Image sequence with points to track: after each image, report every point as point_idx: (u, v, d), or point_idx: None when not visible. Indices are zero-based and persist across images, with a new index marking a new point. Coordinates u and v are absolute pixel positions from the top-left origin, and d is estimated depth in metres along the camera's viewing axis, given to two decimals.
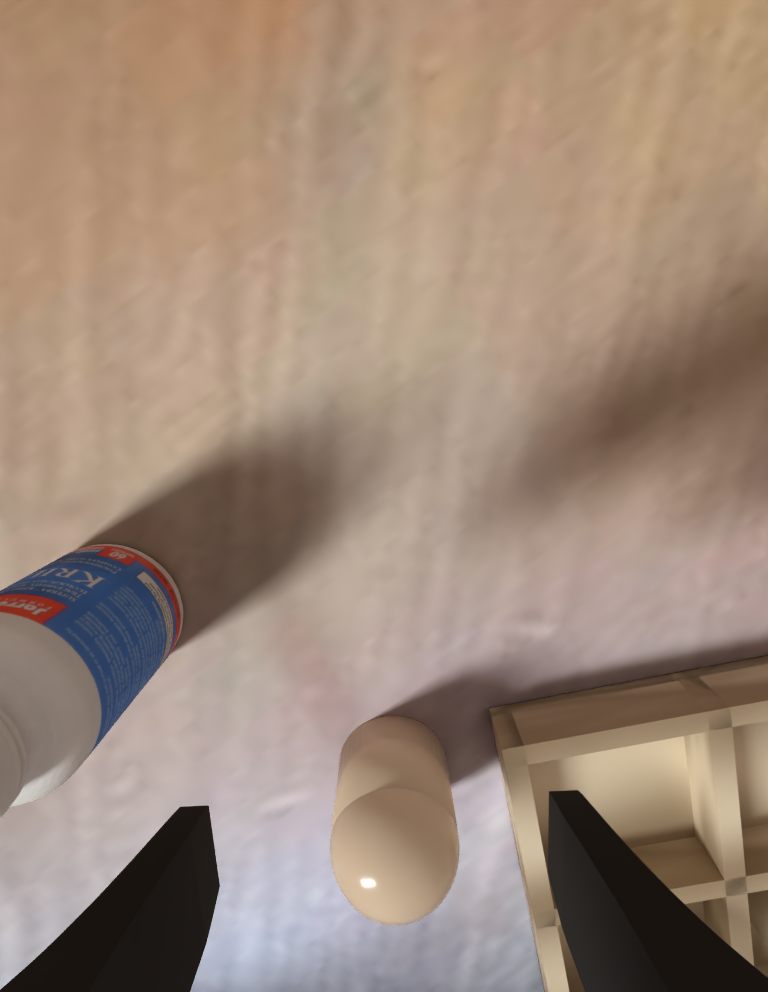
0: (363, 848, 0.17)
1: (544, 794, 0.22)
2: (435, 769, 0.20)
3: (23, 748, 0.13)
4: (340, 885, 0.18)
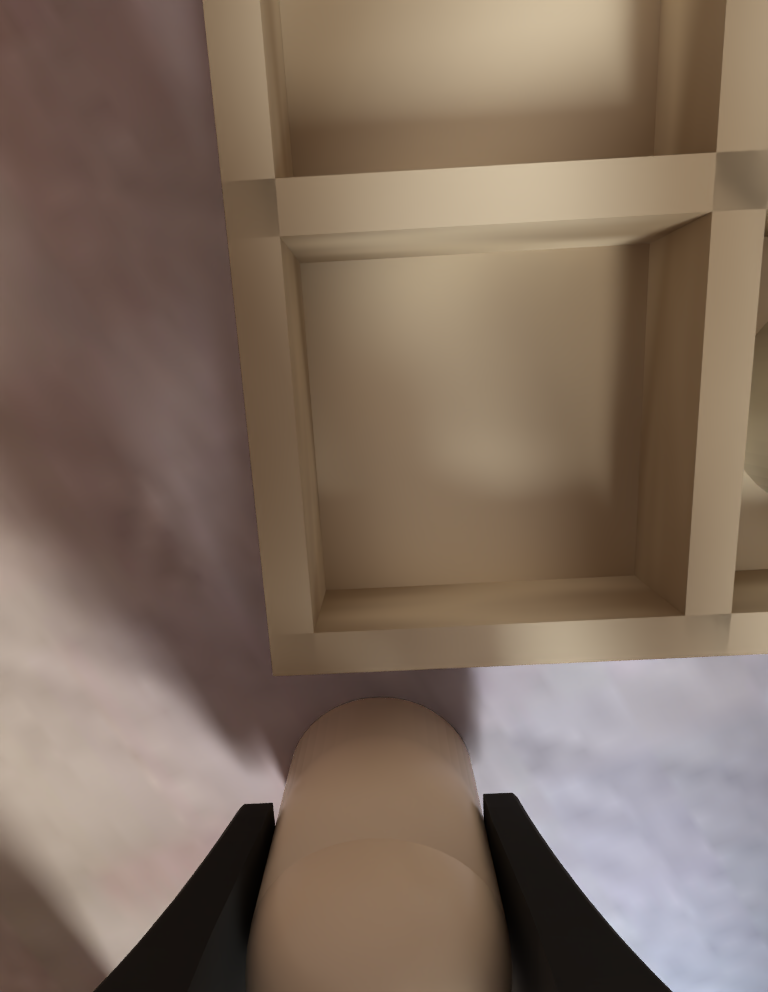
0: None
1: (475, 551, 0.11)
2: (312, 785, 0.11)
3: None
4: None
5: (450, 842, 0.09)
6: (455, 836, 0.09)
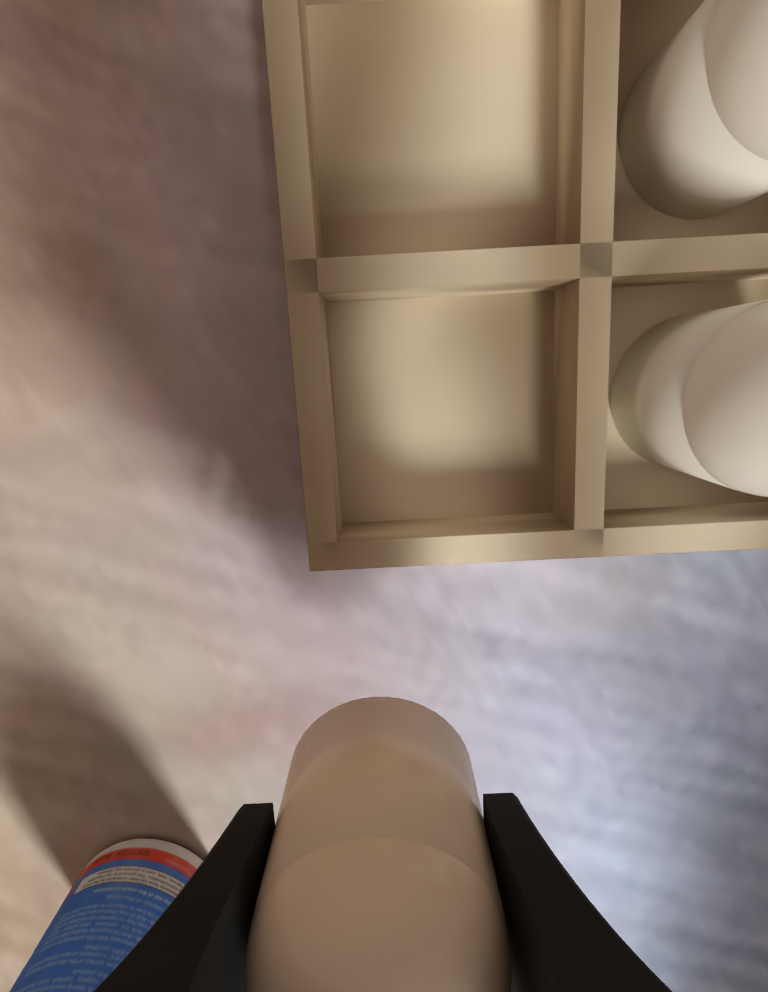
0: None
1: (443, 496, 0.17)
2: (312, 784, 0.11)
3: None
4: None
5: (450, 841, 0.09)
6: (455, 835, 0.09)
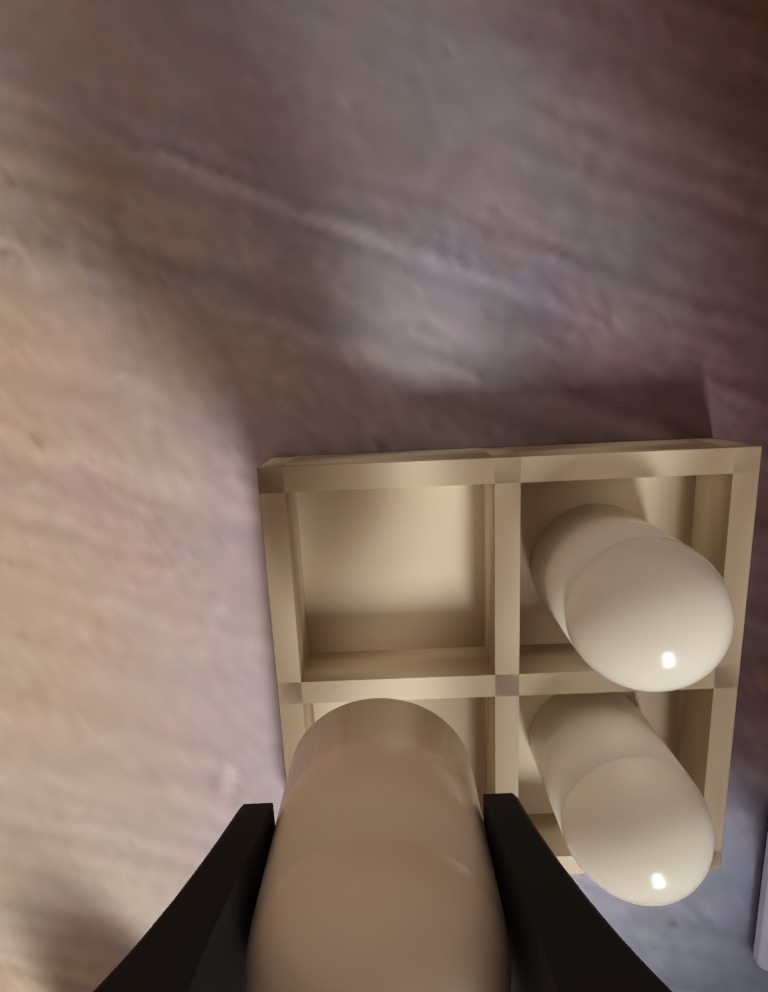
0: None
1: None
2: (312, 786, 0.11)
3: None
4: None
5: (449, 843, 0.09)
6: (454, 837, 0.09)
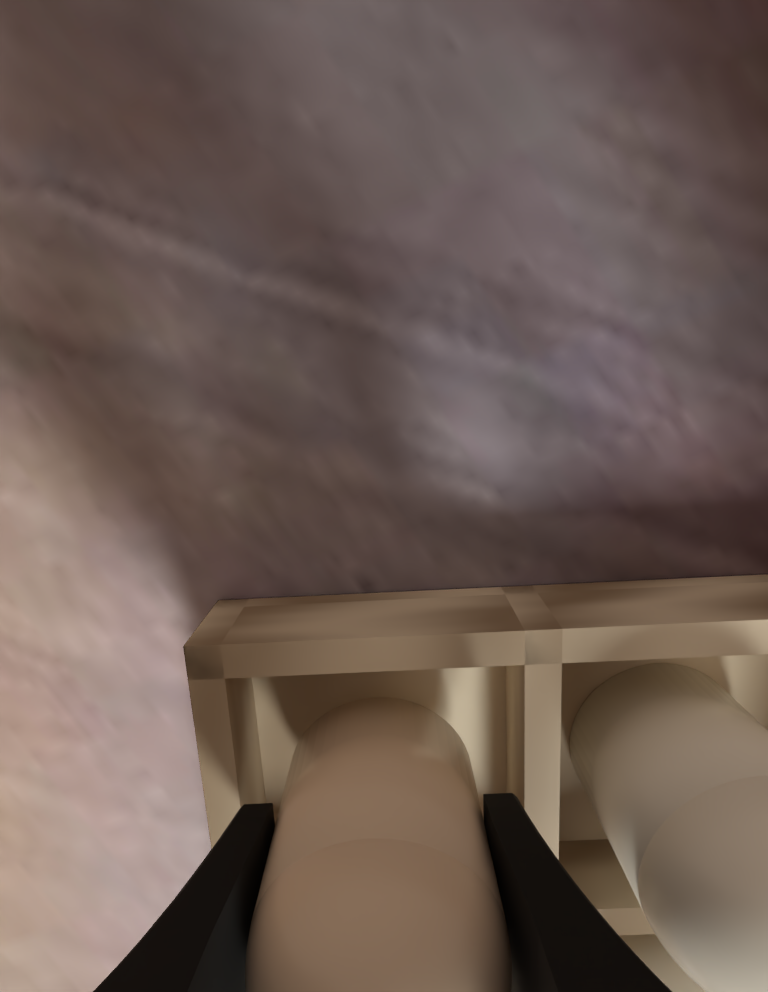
0: None
1: None
2: (312, 784, 0.11)
3: None
4: None
5: (450, 842, 0.09)
6: (455, 836, 0.09)
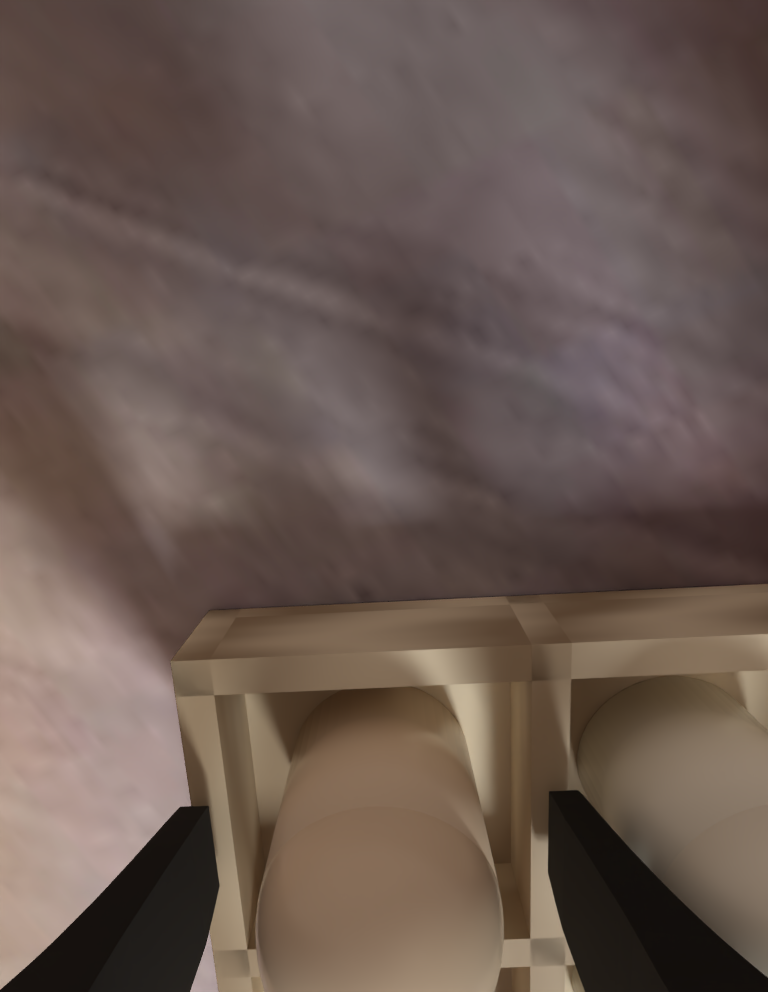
0: None
1: None
2: (317, 761, 0.11)
3: None
4: None
5: (446, 811, 0.10)
6: (451, 806, 0.10)
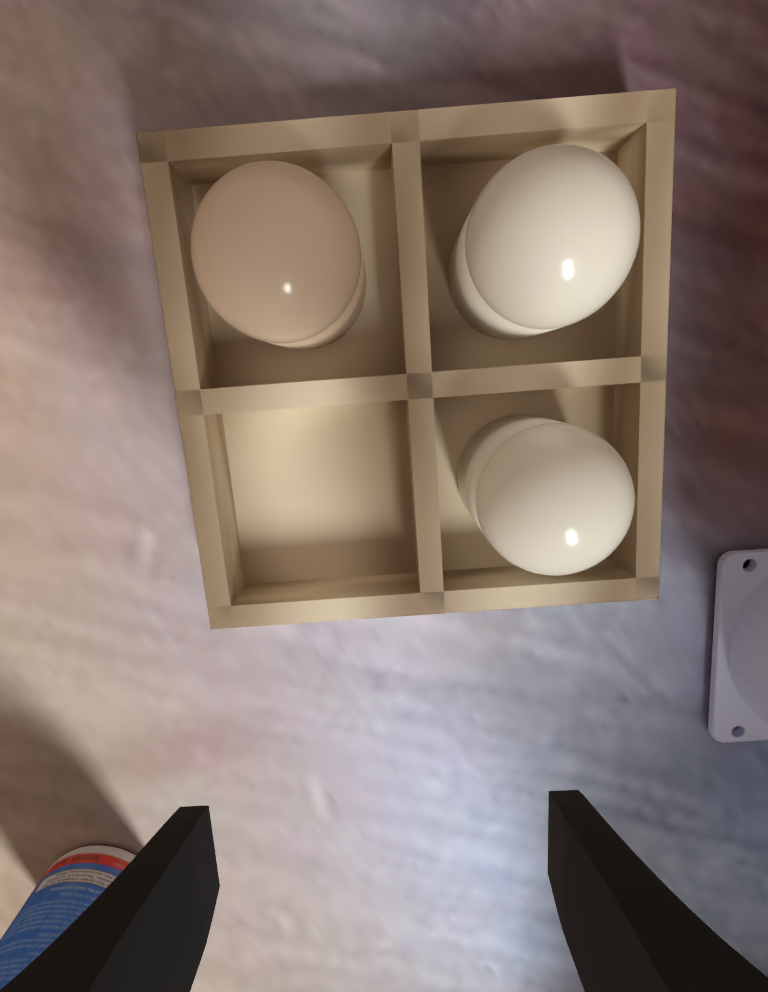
0: (210, 280, 0.13)
1: (326, 560, 0.21)
2: None
3: None
4: (273, 322, 0.14)
5: None
6: None
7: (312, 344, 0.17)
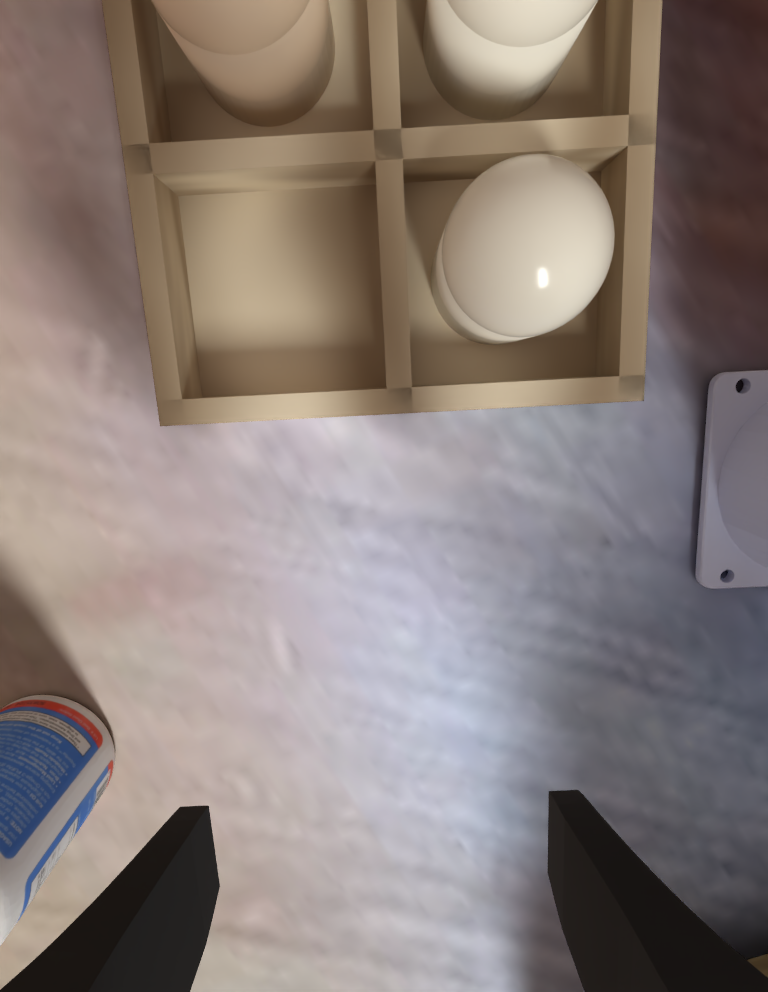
0: None
1: (290, 371, 0.19)
2: None
3: None
4: (217, 0, 0.12)
5: None
6: None
7: (271, 92, 0.16)
